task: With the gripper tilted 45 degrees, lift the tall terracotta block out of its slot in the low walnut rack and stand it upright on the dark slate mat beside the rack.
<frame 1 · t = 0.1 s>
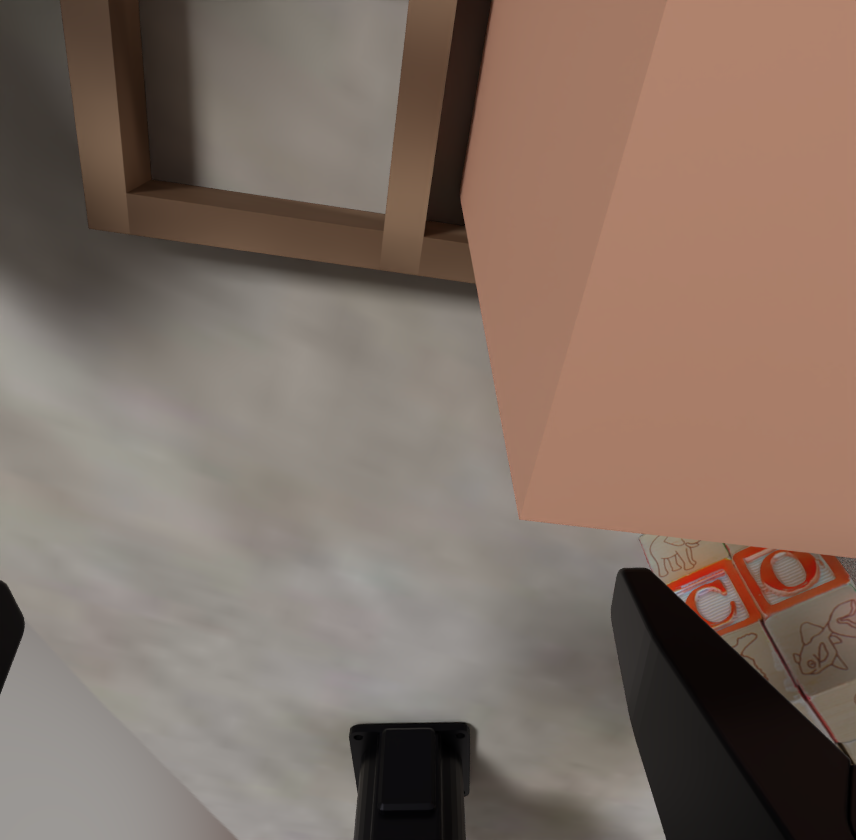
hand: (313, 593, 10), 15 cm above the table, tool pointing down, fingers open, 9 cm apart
stack of blocks: (783, 637, 32), on the table
walnut rack: (565, 113, 19), on the table
terracotta block: (638, 160, 13), in the walnut rack
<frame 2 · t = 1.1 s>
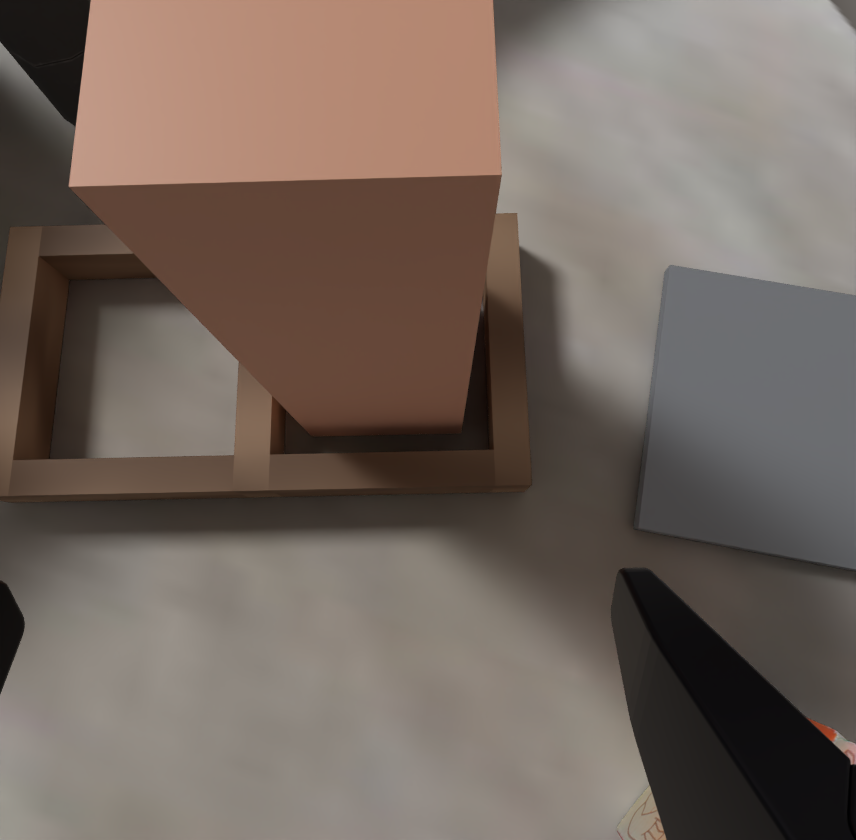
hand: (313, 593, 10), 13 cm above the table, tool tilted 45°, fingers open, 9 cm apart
slate mat: (787, 419, 24), on the table
walnut rack: (386, 363, 24), on the table
terracotta block: (360, 267, 17), in the walnut rack
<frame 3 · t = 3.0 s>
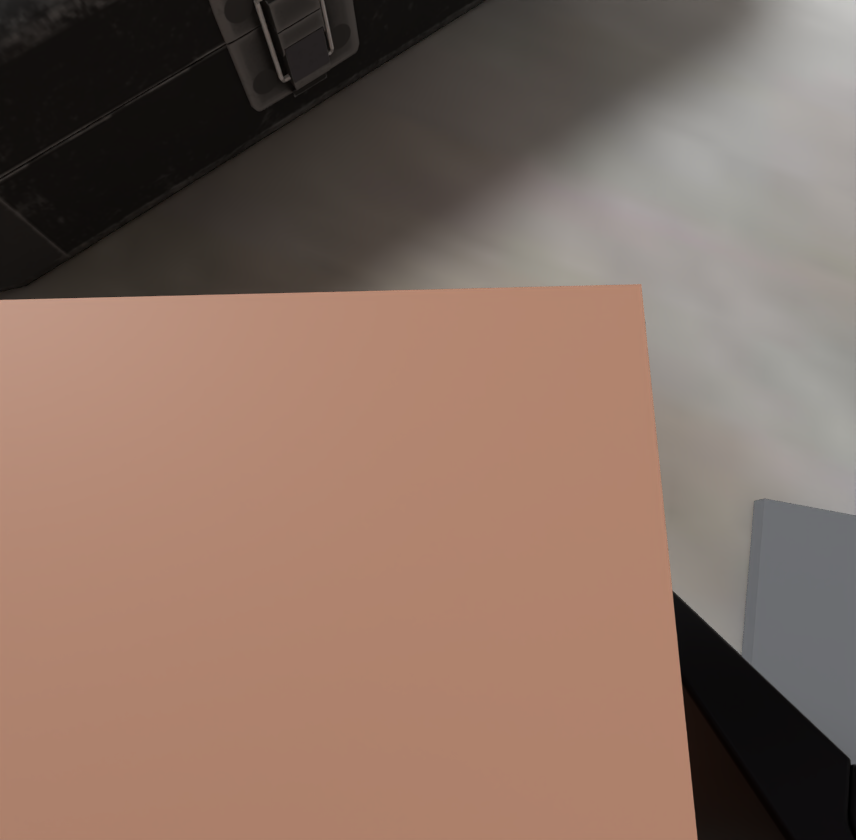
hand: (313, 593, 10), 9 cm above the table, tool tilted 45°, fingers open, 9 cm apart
terracotta block: (320, 682, 10), in the walnut rack, touching gripper
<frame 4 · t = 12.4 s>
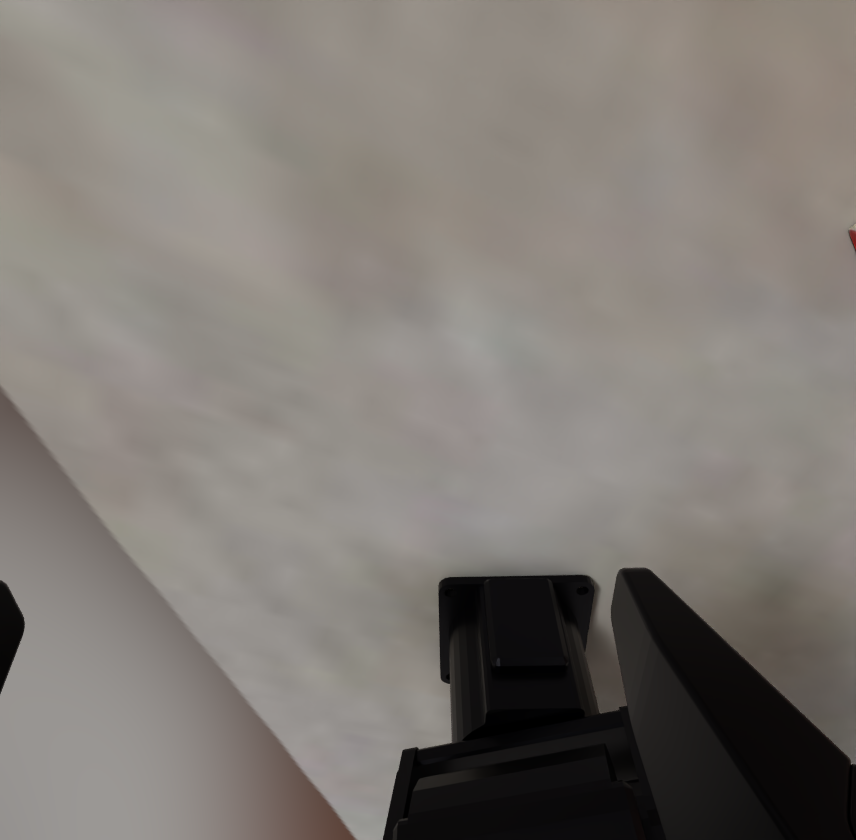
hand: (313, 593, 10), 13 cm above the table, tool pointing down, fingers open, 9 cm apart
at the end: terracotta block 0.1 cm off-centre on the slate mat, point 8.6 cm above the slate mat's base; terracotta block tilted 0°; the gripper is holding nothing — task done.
